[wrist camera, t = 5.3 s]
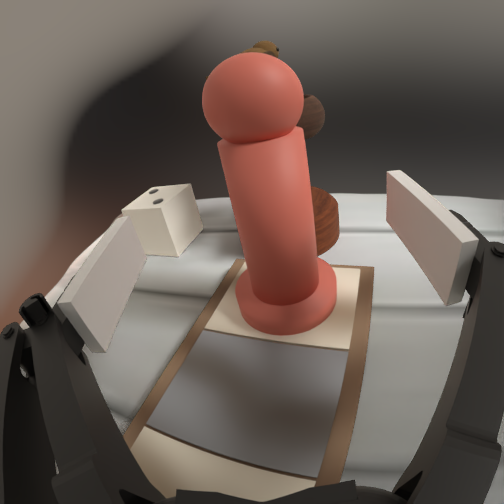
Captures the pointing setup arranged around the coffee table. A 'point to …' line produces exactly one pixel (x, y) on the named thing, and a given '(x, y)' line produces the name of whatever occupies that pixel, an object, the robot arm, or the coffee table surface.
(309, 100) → the music box
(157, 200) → the die
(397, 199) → the robot arm
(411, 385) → the coffee table surface
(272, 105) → the pawn
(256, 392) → the board
